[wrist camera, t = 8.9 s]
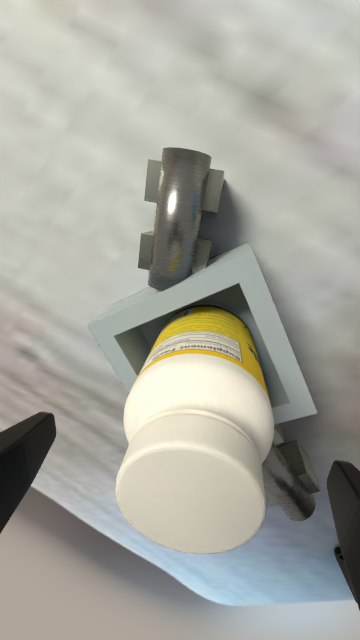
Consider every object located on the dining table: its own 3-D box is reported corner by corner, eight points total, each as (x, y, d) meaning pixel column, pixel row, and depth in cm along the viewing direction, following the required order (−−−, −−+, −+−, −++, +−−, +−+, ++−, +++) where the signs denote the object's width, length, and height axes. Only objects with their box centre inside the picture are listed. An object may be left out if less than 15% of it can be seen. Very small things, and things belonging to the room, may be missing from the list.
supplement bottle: (243, 390, 17) (266, 591, 8) (157, 374, 17) (86, 546, 8) (263, 307, 15) (325, 450, 6) (166, 292, 15) (84, 401, 6)
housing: (299, 373, 17) (317, 413, 13) (175, 411, 19) (164, 452, 16) (246, 242, 14) (253, 250, 11) (114, 304, 17) (86, 325, 14)
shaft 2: (311, 461, 19) (329, 513, 16) (269, 476, 20) (278, 527, 17) (257, 386, 17) (265, 425, 14) (215, 407, 18) (213, 447, 15)
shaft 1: (204, 280, 15) (199, 298, 12) (149, 270, 16) (130, 284, 13) (226, 169, 13) (226, 154, 10) (162, 159, 14) (142, 142, 10)
